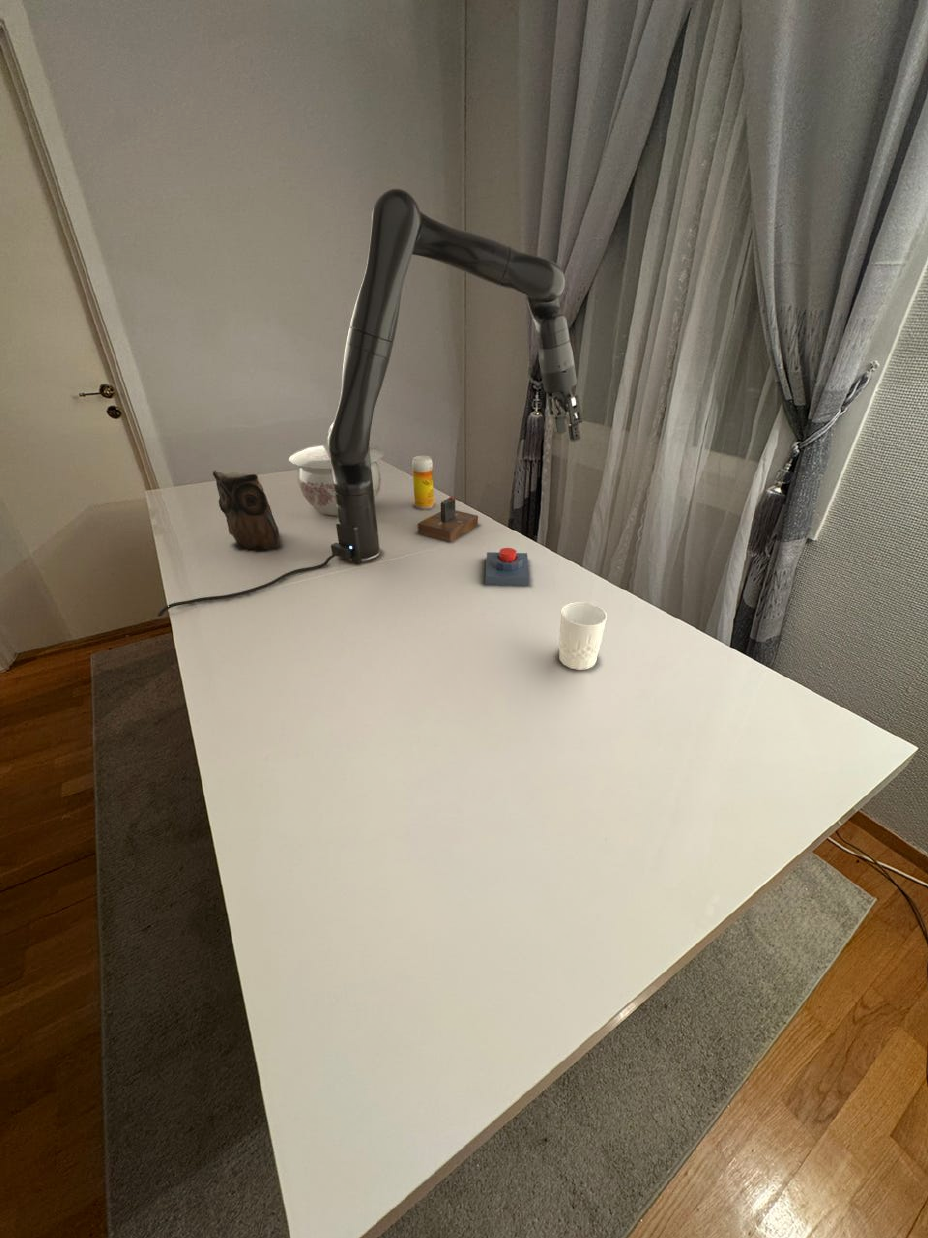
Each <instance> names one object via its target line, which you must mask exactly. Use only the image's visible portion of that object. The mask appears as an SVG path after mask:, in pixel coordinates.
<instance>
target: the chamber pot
mask: <svg viewBox="0 0 928 1238" xmlns="http://www.w3.org/2000/svg"><path fill="white" fill-rule="evenodd" d="M369 450H370V460H371V469H372V477H373V489H374V499H375V500H376V498H377V497H378V494H379V492H380V489H381V483H382V482H381V481H382V475H381V468H380V466H379V464H378V462H377V461H379V460H380V459H381V458H383V456H384V455H385V454H384V450H383V449H381V448H380V447H378V446H377V445H372V444H369ZM288 461H289V462H290V463H291V464H292V465H294V466H297V467H298V470H297V474H296V478H297V483H298V487H299V489H300V491H301V494H302V496H303V497H304V499H305V500H306V501H307V502H308V503H309V504H310V505H311V506H312V508H313V509H314V510H315V511H316V512H318V513H320V514H322V515H328V516H334V517H338V512H337V505H336V498H335V491H334V484H333V474H332V465H331V458H330V452H329V449H328V446H327V442H324V443H318V444H312V445H309V446H305V447H303V448H301V449H298V450H296V451H294V452H292V453H291V454H290V455H289V458H288Z"/></svg>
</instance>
